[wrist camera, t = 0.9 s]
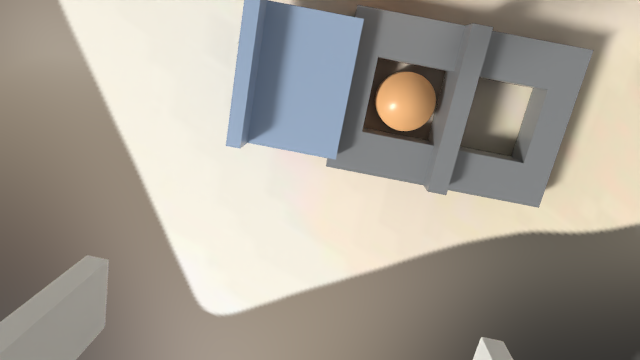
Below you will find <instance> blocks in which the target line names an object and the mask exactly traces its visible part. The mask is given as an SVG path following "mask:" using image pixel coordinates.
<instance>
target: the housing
mask: <svg viewBox="0 0 640 360" xmlns="http://www.w3.org/2000/svg"><path fill="white" fill-rule="evenodd" d="M355 17H357V18H362V19H364V21H363V26H362V31H361V36H360V41H359V46H358V51H357V56H356V61H355V66H354V71H353V76H352V81H351V86H350V91H349V96H348V101H347V106H346V111H345V116H344V120H343V125H342V130H341V135H340V140H339V145H338V150H337V155H336V160H335V159H330V158H327V164H326V166H327V167H332V168H337V169H343V170H348V171H353V172H358V173H363V174H368V175H374V176H379V177H384V178H389V179H394V180H399V181H404V182H410V183H415V184H420V185H424V187H425V188H426V190H427V191H428V192H433V193H438V194H443V195H446V194H447V190H451V191H456V192H461V193H466V194H471V195H477V196H482V197H487V198H492V199H497V200H502V201H508V202H513V203H518V204H523V205H528V206H533V207H538V208H539V205H540V202H541V200H542V197H543V194H544V191H545V188H546V185H547V182H548V179H549V177H550V174H551V171H552V168H553V165H554V162H555V159H556V156H557V154H558V151H559V148H560V145H561V142H562V139H563V136H564V133H565V131H566V128H567V125H568V122H569V119H570V116H571V113H572V110H573V108H574V105H575V102H576V99H577V96H578V93H579V90H580V87H581V85H582V82H583V79H584V76H585V73H586V70H587V67H588V64H589V62H590V59H591V56H592V53H593V50H590V49H585V48H579V47H574V46H569V45H564V44H559V43H553V42H548V41H543V40H538V39H533V38H527V37H522V36H517V35H512V34H507V33H502V32H496V31H492V30H493V27H490V26H484V25H479V24H474V23H472V24H469V25H466V26H465V25H460V24H455V23H450V22H444V21H439V20H434V19H429V18H424V17H418V16H413V15H408V14H403V13H398V12H392V11H387V10H382V9H377V8H372V7H366V6H361V5H357V10H356V15H355ZM378 58H381V59H386V60H391V61H396V62H401V63H407V64H412V65H417V66H422V67H427V68H432V69H438V70H443V71H445V75H444V79H443V83H442V87H441V91H440V94H439V98H438V102H437V106H436V110H435V114H434V118H433V121H432V125H431V129H430V133H429V137H428V140H424V139H419V138H414V137H409V136H404V135H398V134H393V133H388V132H383V131H378V130H373V129H367V128H363V125H364V120H365V116H366V111H367V106H368V102H369V97H370V92H371V88H372V83H373V79H374V74H375V69H376V65H377V60H378ZM479 78H484V79H490V80H495V81H500V82H505V83H510V84H515V85H521V86H526V87H531V88H533V90H532V93H531V96H530V99H529V102H528V106H527V109H526V112H525V115H524V118H523V121H522V124H521V128H520V131H519V134H518V137H517V140H516V143H515V146H514V150H513V153H512V156H507V155H502V154H496V153H491V152H486V151H481V150H476V149H471V148H465V147H460V144H461V140H462V137H463V133H464V130H465V126H466V123H467V119H468V116H469V112H470V108H471V105H472V101H473V98H474V94H475V91H476V87H477V84H478V80H479ZM435 104H436V96H435V92H434V89H433V87H432V85H431V84H430V82H429V81H428V80H427V79H426V78H425V77H423V76H421V75H419V74H417V73H413V72H397V73H393V74H391V75H389V76H388V77H386V78H385V79H384V80H383V81H382V82H381V83H380V85H379V87H378V88H377V91H376V94H375V107H376V110H377V113H378V114H379V116H380V117H381V119H382V120H383V121H384V122H385V123H386V124H387V125H388V126H389V127H391V128H393V129H395V130H399V131H411V130H414V129H417V128H419V127H421V126H422V125H424V124H425V123H426V122H427V121H428V120H429V119H430V117H431V115H432V114H433V111H434V108H435Z"/></svg>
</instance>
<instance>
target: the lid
mask: <svg viewBox="0 0 640 360" xmlns="http://www.w3.org/2000/svg"><path fill="white" fill-rule="evenodd" d="M363 21H364V19H362V18H357V17H351V16H346V15H341V14H336V13H331V12H325V11H320V10H315V9H310V8H305V7H299V6H294V5H289V4H284V3H279V2H273V1H268V0H244V7H243V15H242V23H241V31H240V38H239V46H238V54H237V62H236V70H235V78H234V86H233V94H232V102H231V110H230V118H229V125H228V133H227V141H226V146H230V147H235V148H241V147H243V146H244V145H245V144H246V143H252V144H257V145H263V146H268V147H273V148H278V149H283V150H288V151H294V152H299V153H304V154H309V155H314V156H319V157H324V158H330V159H335V160H336V155H337V150H338V145H339V140H340V135H341V130H342V125H343V120H344V116H345V111H346V106H347V101H348V96H349V91H350V86H351V81H352V76H353V71H354V66H355V61H356V56H357V51H358V46H359V41H360V36H361V31H362V26H363Z"/></svg>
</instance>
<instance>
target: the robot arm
mask: <svg viewBox="0 0 640 360" xmlns="http://www.w3.org/2000/svg"><path fill="white" fill-rule="evenodd" d="M108 265H109V260H107V259H103V258H98V257H93V256H88V255H87V256H85V257H84V258H83V259H82V260H80V261H79V262H78V263H76V264H75V265H74V266H72V267H71V268H70V269H69V270H67V271H66V272H65V273H63V274H62V275H61V276H60V277H58V278H57V279H56V280H54V281H53V282H52V283H50V284H49V285H48V286H47V287H45V288H44V289H43V290H41V291H40V292H39V293H37V294H36V295H35V296H34V297H32V298H31V299H30V300H28V301H27V302H26V303H25V304H23V305H22V306H21V307H19V308H18V309H17V310H15V311H14V312H13V313H12V314H10V315H9V316H8V317H6V318H5V319H4V320H3V321H1V322H0V360H76V359H77V358H78V356H79V355H80V354H81V353H82V352H83V351H84V350H85V349H86V347H87V346H88V345H89V344H90V343H91V342H92V341H93V340H94V339H95V337H96V336H97V335H98V334H99V333H100V332H101V331H102V329H103V328H104V327H105V317H106V301H107V283H108ZM473 360H513V359H512V357H511V355H510V353H509V351H508V350H507V348H506V346H505V344H504V342H503V341H499V340H494V339H489V338H484V337H481V339H480V342H479V345H478V348H477V350H476V353H475V355H474V358H473Z"/></svg>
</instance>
